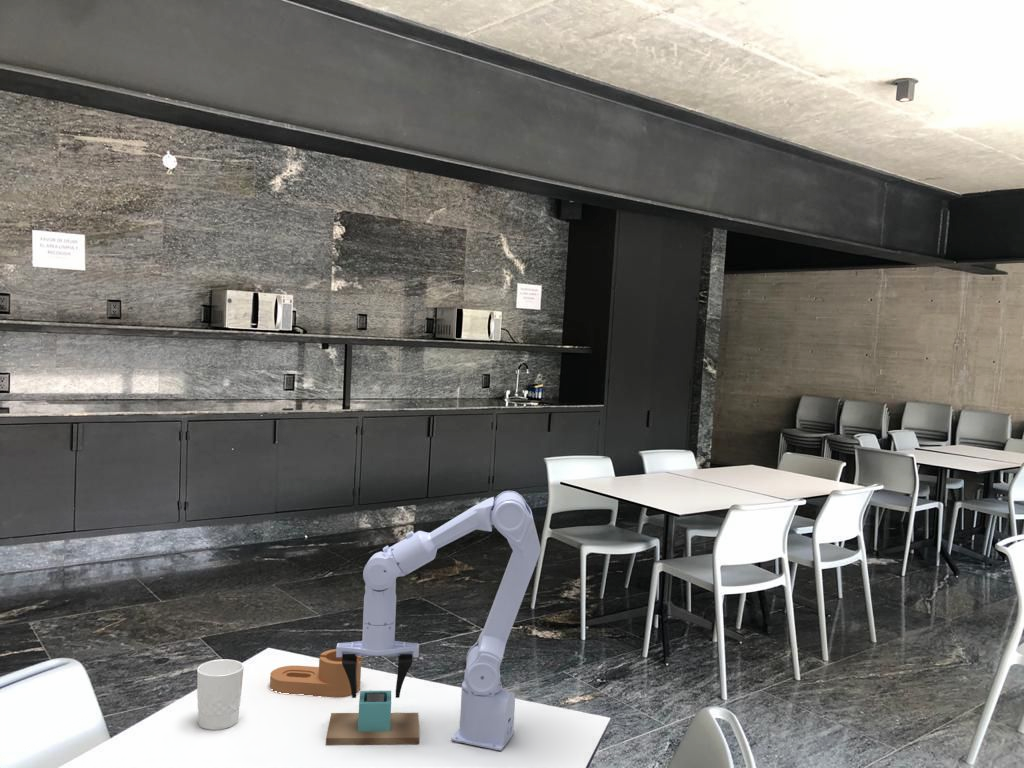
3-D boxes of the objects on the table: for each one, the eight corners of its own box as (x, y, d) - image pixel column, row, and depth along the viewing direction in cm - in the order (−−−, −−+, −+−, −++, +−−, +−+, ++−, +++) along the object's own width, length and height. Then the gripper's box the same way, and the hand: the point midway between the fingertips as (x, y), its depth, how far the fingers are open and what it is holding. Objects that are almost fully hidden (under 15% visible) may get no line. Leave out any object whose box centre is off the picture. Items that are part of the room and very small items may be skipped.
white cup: (222, 735, 143) (224, 678, 142) (185, 726, 145) (187, 671, 145) (250, 717, 150) (252, 663, 150) (214, 709, 153) (217, 656, 152)
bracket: (363, 683, 169) (365, 650, 169) (354, 700, 161) (356, 665, 160) (277, 677, 170) (279, 644, 169) (263, 693, 161) (265, 659, 161)
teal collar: (389, 717, 150) (391, 690, 150) (389, 731, 145) (391, 703, 145) (358, 717, 150) (360, 690, 150) (357, 731, 144) (359, 703, 144)
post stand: (418, 719, 153) (419, 686, 153) (418, 744, 143) (420, 709, 143) (330, 719, 151) (332, 686, 151) (325, 745, 141) (327, 709, 141)
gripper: (419, 613, 151) (416, 686, 152) (339, 613, 150) (336, 686, 150) (420, 626, 144) (416, 702, 145) (336, 626, 143) (333, 703, 143)
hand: (375, 695), depth 147 cm, fingers open, 7 cm apart
